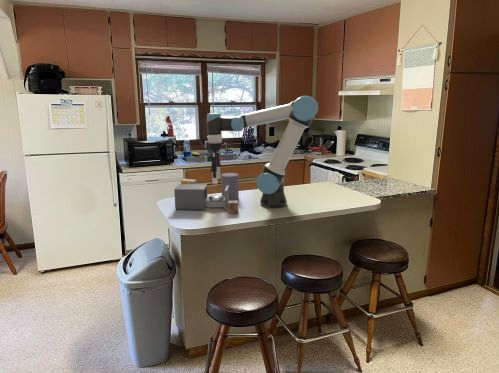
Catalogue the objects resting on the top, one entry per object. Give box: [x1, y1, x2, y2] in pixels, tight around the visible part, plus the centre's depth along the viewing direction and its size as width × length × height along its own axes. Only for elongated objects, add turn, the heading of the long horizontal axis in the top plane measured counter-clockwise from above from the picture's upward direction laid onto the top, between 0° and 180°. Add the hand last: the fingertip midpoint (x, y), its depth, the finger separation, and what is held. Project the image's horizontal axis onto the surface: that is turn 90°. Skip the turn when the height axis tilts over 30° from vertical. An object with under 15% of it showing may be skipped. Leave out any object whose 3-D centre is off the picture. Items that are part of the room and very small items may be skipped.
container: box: [220, 172, 240, 200], centre depth 228 cm, size 10×10×15 cm
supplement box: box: [180, 178, 197, 184], centre depth 223 cm, size 8×5×13 cm, turn 70°
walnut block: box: [227, 199, 239, 215], centre depth 202 cm, size 5×5×6 cm
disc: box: [208, 194, 224, 201], centre depth 210 cm, size 8×8×2 cm
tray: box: [204, 186, 229, 211], centre depth 210 cm, size 16×12×11 cm
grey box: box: [173, 183, 208, 212], centre depth 210 cm, size 16×12×12 cm
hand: (216, 180), depth 208 cm, fingers open, 13 cm apart
